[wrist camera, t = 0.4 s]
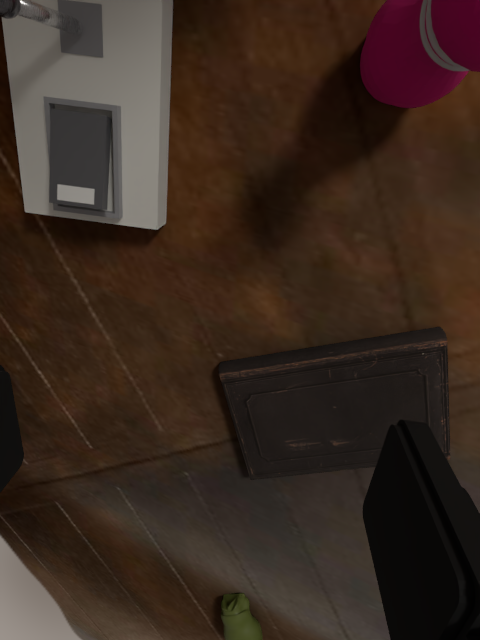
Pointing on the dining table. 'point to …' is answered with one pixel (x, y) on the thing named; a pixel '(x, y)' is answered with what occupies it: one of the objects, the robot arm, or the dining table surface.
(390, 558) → the robot arm
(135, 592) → the dining table surface
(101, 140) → the panel
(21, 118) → the control panel
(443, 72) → the pepper mill
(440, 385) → the hardcover book
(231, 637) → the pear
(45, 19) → the toggle lever
